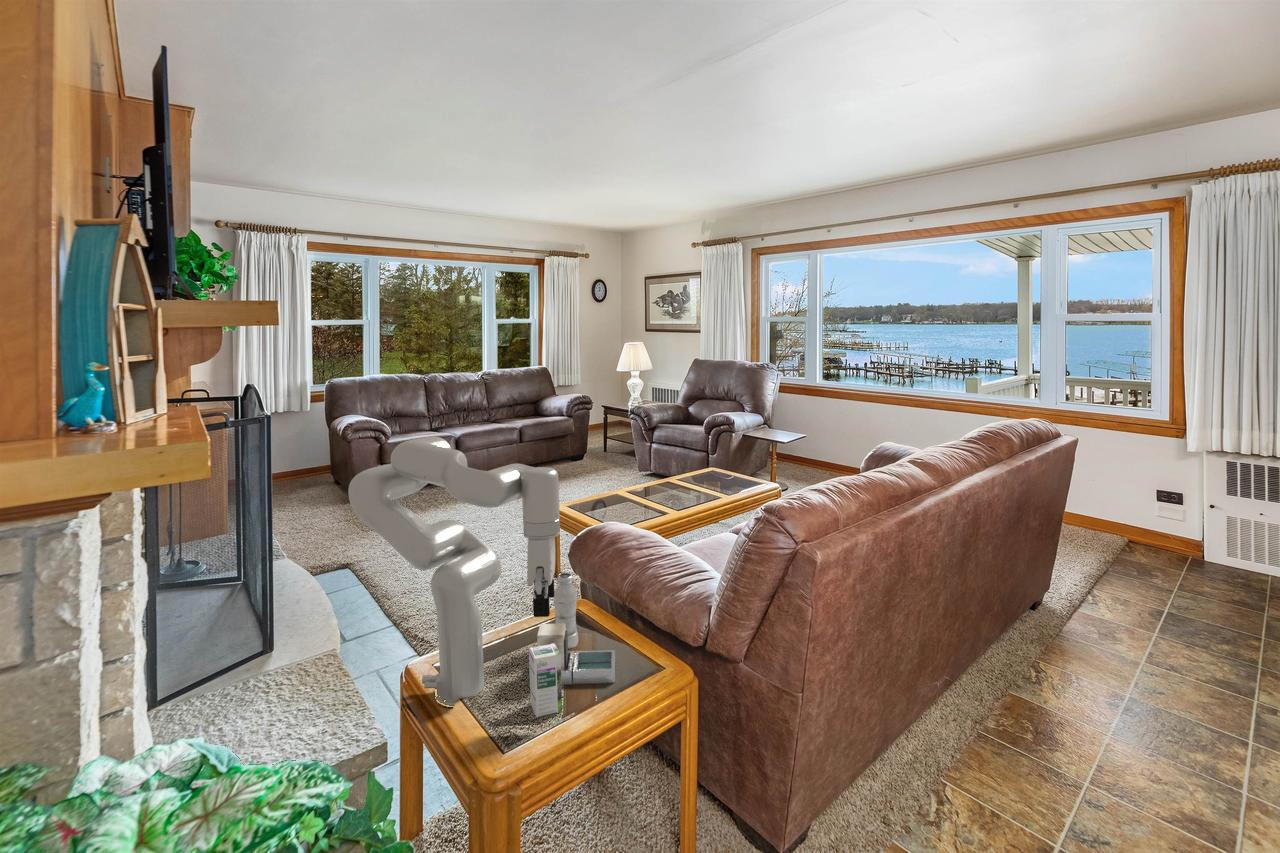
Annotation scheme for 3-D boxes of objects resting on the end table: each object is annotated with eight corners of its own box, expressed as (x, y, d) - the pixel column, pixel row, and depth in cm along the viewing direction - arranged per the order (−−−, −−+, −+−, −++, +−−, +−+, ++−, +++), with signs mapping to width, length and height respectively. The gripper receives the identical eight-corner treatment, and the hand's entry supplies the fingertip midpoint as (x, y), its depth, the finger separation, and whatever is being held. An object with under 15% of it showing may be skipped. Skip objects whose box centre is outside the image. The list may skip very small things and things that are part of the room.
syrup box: (536, 724, 128) (534, 659, 127) (530, 709, 134) (528, 646, 132) (562, 718, 130) (561, 653, 129) (555, 703, 136) (554, 641, 134)
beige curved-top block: (538, 680, 143) (537, 635, 141) (541, 667, 149) (540, 624, 147) (566, 679, 143) (565, 634, 142) (568, 666, 149) (567, 623, 148)
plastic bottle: (580, 643, 164) (579, 571, 162) (575, 655, 157) (574, 580, 155) (557, 642, 165) (555, 570, 162) (551, 654, 158) (549, 579, 155)
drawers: (528, 691, 141) (528, 672, 140) (534, 669, 151) (534, 651, 150) (615, 688, 142) (615, 670, 141) (615, 666, 152) (615, 649, 151)
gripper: (529, 516, 135) (532, 591, 137) (516, 540, 118) (520, 625, 120) (563, 515, 136) (565, 590, 138) (555, 539, 119) (558, 623, 121)
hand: (544, 606), depth 129 cm, fingers open, 9 cm apart
